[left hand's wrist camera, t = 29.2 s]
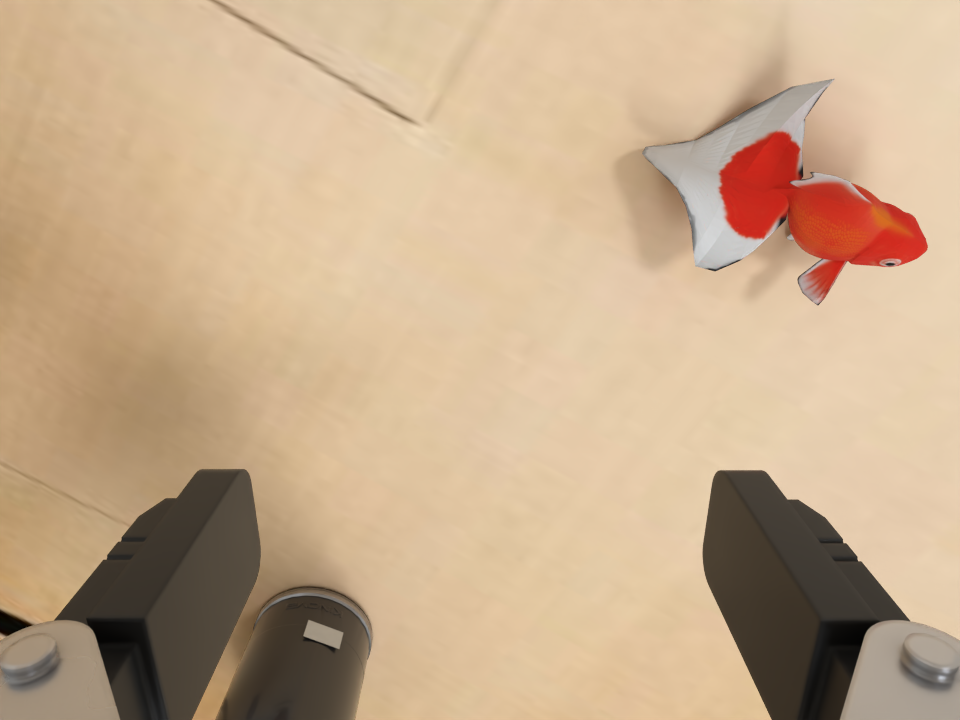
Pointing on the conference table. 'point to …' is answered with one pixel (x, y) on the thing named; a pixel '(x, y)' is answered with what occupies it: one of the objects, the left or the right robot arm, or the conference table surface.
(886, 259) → the fish
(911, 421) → the conference table surface
